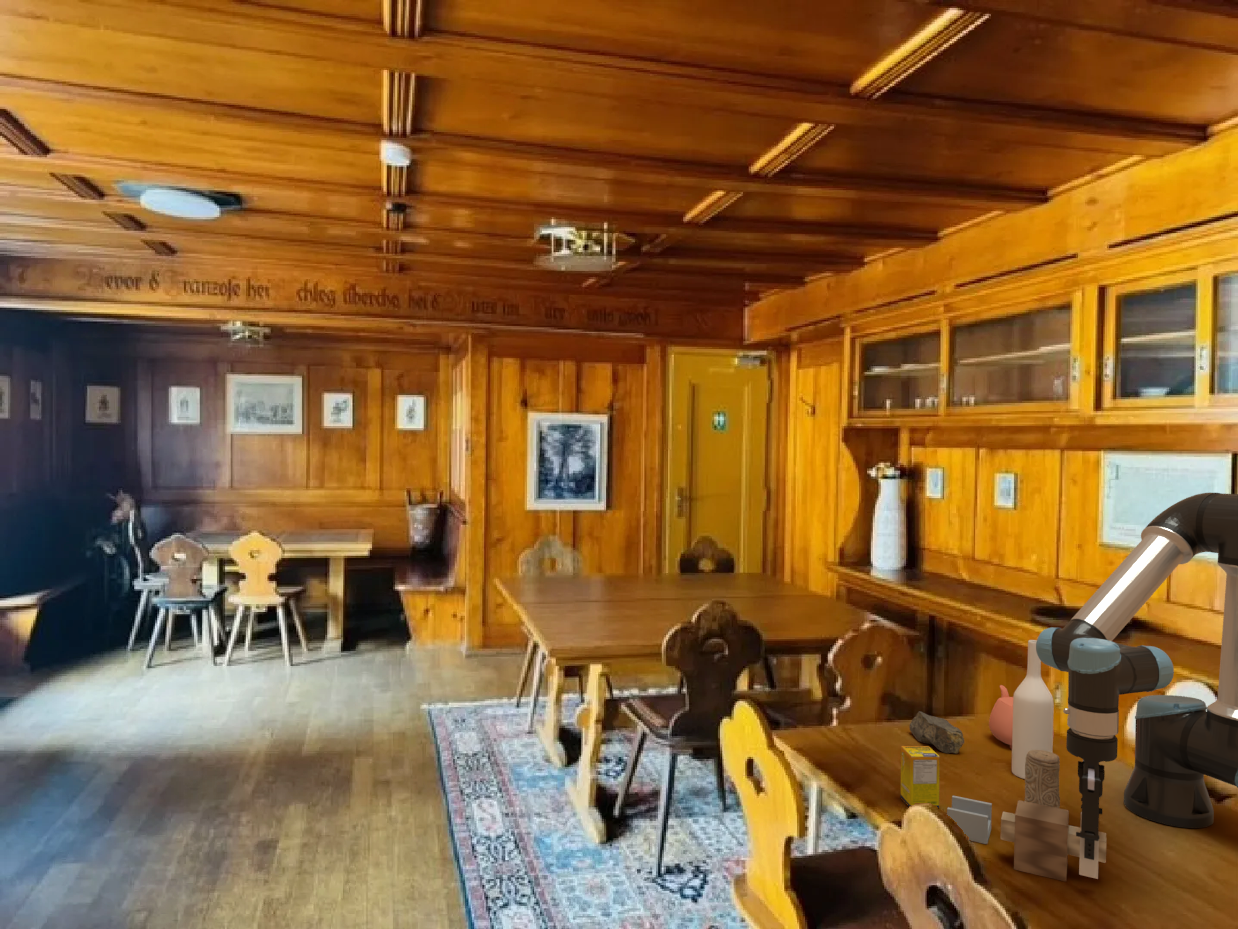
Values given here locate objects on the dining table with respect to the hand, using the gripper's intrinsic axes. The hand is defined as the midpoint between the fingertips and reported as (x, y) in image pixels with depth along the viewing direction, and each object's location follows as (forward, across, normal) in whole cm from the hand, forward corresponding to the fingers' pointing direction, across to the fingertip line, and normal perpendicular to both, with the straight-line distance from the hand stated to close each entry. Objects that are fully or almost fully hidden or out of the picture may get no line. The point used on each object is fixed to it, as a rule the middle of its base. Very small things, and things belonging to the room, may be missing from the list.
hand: (1088, 863), depth 142 cm
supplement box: (+3, -16, -30) cm, 34 cm away
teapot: (+3, -66, -15) cm, 68 cm away
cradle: (+2, -8, -20) cm, 21 cm away
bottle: (+3, -45, -11) cm, 46 cm away
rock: (+3, -54, -33) cm, 63 cm away
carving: (+3, -24, -8) cm, 26 cm away
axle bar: (-2, 0, -6) cm, 6 cm away
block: (+2, 0, -7) cm, 8 cm away
